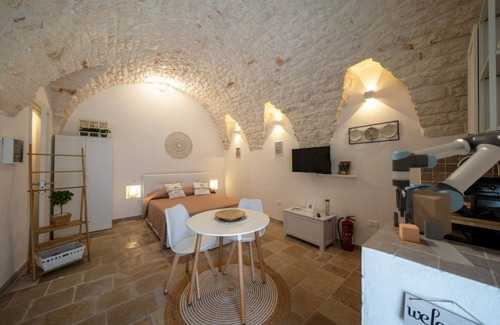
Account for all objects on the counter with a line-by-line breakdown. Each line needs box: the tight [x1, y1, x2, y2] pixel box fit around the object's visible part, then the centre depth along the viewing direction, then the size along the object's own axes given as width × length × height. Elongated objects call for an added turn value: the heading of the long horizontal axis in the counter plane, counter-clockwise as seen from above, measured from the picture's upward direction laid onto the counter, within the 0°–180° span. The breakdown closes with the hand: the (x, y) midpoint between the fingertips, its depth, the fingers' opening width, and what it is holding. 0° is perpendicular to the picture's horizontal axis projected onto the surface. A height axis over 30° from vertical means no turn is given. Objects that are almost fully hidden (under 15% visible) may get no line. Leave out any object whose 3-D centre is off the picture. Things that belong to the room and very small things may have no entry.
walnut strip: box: [390, 211, 426, 247], centre depth 91 cm, size 24×8×9 cm, turn 151°
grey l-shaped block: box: [421, 220, 475, 267], centre depth 77 cm, size 24×8×9 cm, turn 151°
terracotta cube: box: [399, 223, 420, 242], centre depth 87 cm, size 6×6×6 cm
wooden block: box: [413, 190, 452, 237], centre depth 92 cm, size 10×10×20 cm
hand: (401, 221), depth 101 cm, fingers closed on walnut strip, 2 cm apart
